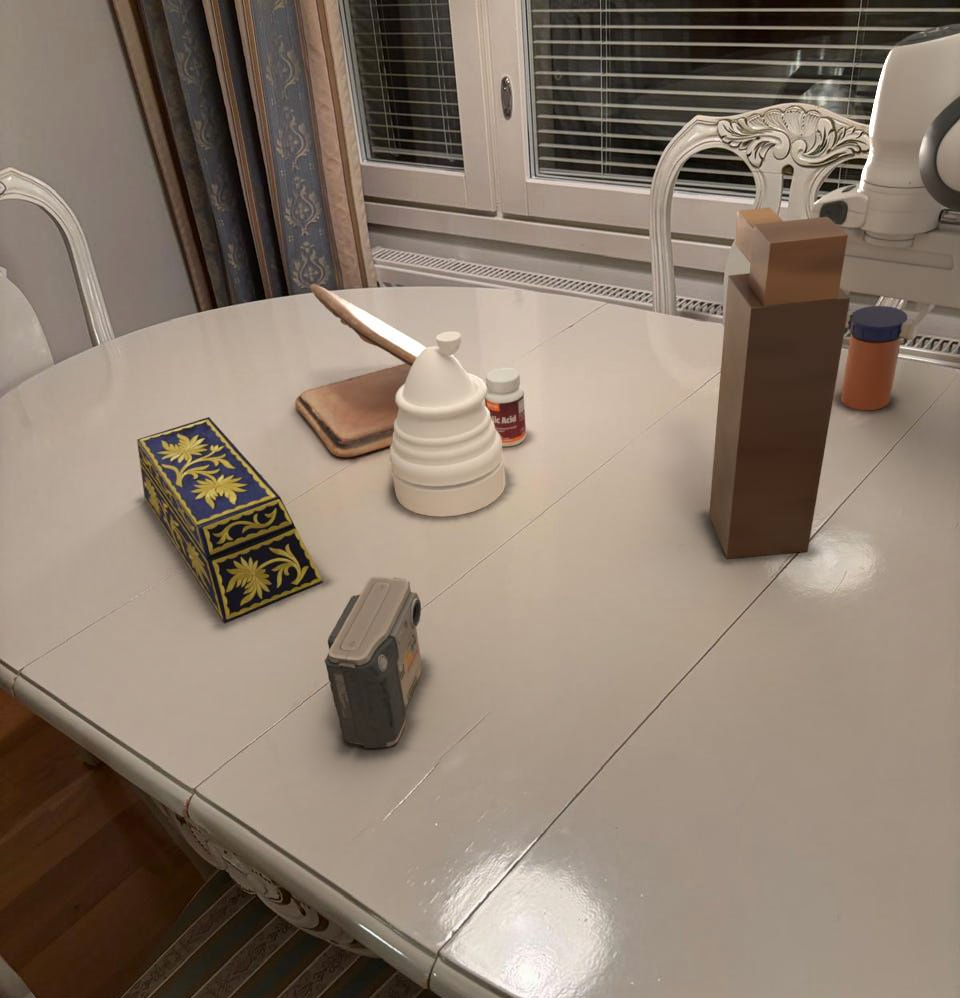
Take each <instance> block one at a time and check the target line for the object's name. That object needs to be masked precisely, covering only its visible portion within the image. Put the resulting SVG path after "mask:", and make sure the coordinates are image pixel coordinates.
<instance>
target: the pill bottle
mask: <svg viewBox="0 0 960 998" xmlns="http://www.w3.org/2000/svg"><path fill="white" fill-rule="evenodd" d="M485 384H486V387H487V394H486V396H485V398H484V405H485V406H486V407H487V409H488V410H489V411H490V417H491V419H492V421H493V422H494V425H495V429H496V430H497V432H498V433H499V434H500V437H501V440H502V447H513V446H516V445H519V444H521V443H522V442H523V441H525V439H526V437H527V426H526V411H525V409H526V408H525V391H524V389H523V387H522V386H521V377H520V372H519V371H518V370H517V369H516V368H511V367H499V368H494V369H491V370H490V371H488V372H487V373H486V375H485Z"/></svg>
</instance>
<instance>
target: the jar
mask: <svg viewBox="0 0 960 998" xmlns="http://www.w3.org/2000/svg"><path fill="white" fill-rule="evenodd" d="M849 336H850V337H849V343H848V349H847V355H846V363H845V370H844V376H843V382H842V389H841V395H840V401H841V403H842V404H843V405H844V406H846V407H848V408H850V409H853V410H859V411H875V410H880V409H882V408H885V407H886V406H888V405H889V403H890V401H891V396H892V391H893V385H894V379H895V375H896V369H897V364H898V358H899V354H900V347H901V342H902V338H899V337H898V338H896V339H893V340H889V341H867V340H863V339H859V338H857V337H855V336H853V335H852V334H851V333H850V335H849Z"/></svg>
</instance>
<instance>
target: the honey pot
mask: <svg viewBox="0 0 960 998" xmlns="http://www.w3.org/2000/svg"><path fill="white" fill-rule="evenodd" d="M435 339H436V343H437V345H432V346H428V347H426V349H425V350H423V351H422V352H421V353H420V354H419V355H418V357H417V358H416V360H415V361H414V363H413V365H412V367H411V369H410V371H409V374H408V376H407V379H406V382H405V384H404V385H403V386H401V387H400V388H399V390H398V391H397V393H396V398H395V402H396V404H397V406H398V407H399V410H398V415H397V418H396V419H395V421H394V432H393V443H392V444H391V446H389V461H390V467H391V474H392V480H393V486H394V492H395V497H396V499H397V501H398V503H399V504H400V505H401V506H402V507H404V508H405V509H406V510H408V511H411V512H412V513H415V514H417V515H423V516H428V517H441V518H442V517H443V518H444V517H445V518H446V517H453V516H454V517H455V516H461V515H465V514H469V513H473V512H476V511H479V510H480V509H483V508H485V507H487V506H489V505H490V504H492V503H493V502H495V501H497V499H498V498H499V497H500V496H501V495H502V494H503V493H504V490H505V487H506V485H507V483H506V471H505V461H504V460H505V459H504V450H503V446H502V440H501V437H500V434H499V433H498V432H497V430H496V429H495V425H494V422H493V421H492V419H491V417H490V411H489V410H488V409H487V407H486V405H485V402H484V401H485V396H486V394H487V389H488V388H487V386H486V382H484V380H483V379H482V378H480V377H479V376H477V375H475V374H472V373H469V372H467V371H466V369H465V368H464V367H463V366H462V364H461V363H460V361H459V360H458V359H457V358H456V357H455V356H454V355H455V354H456V353H457V352H458V351H459V349H460V346H461V343H462V334H461V332H458V331H453V330H452V331H444V332H443V331H442V332H441V333H439V334H437V335H436V337H435Z"/></svg>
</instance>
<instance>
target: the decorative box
mask: <svg viewBox="0 0 960 998" xmlns="http://www.w3.org/2000/svg"><path fill="white" fill-rule="evenodd" d="M136 444H137V451H138V459H139V466H140V474H141V482H142V489H143V496H144V500H145V501H146V503H147V505H148V506H149V508H150V510H151V511H152V512H153V514H154V516H155V517H156V519H157V520H158V522H159V524H160V525H161V527H162V528H163V529H164V531H165V532H166V534H167V536H168V537H169V539H170V541H171V542H172V544H173V545H174V546H175V548H176V550H177V551H178V553H179V555H180V556H181V558H182V559H183V561H184V562H185V564H186V565H187V567H188V569H189V570H190V572H191V573H192V575H193V576H194V578H195V580H196V581H197V583H198V585H199V586H200V587H201V589H202V590H203V592H204V594H205V595H206V597H207V598H208V600H209V601H210V603H211V604H212V606H213V607H214V609H215V610H216V612H217V614H218V616H219V617H220V619H221V620H222V622H223V623H225V624H226V623H228V622H230V621H232V620H234V619H237V618H239V617H242V616H244V615H247V614H249V613H252V612H254V611H256V610H259V609H261V608H264V607H266V606H268V605H271V604H273V603H276V602H278V601H280V600H283V599H286V598H288V597H291V596H293V595H295V594H298V593H300V592H302V591H304V590H305V591H306V590H307V589H309V588H312V587H314V586H316V585H319V584H322V583H323V582H324V580H323V578H322V576H321V575H320V573H319V570H318V569H317V567H316V565H315V562H314V561H313V559H312V556H311V555H310V553H309V551H308V549H307V547H306V545H305V543H304V540H303V539H302V537H301V535H300V532H299V531H298V529H297V527H296V525H295V523H294V521H293V519H292V517H291V516H290V513H289V511H288V509H287V507H286V505H285V503H284V501H283V499H282V497H281V496H280V495H279V494H278V493H277V491H276V490H275V489H274V488H273V487H272V486H271V484H269V482H268V481H267V480H266V479H265V478H264V477H263V476H262V474H261V473H259V471H258V470H257V469H256V468H255V466H253V464H252V463H251V462H250V461H249V460H248V459H247V458H246V457H245V455H243V454H242V452H241V450H240V449H238V448H237V447H236V445H235V444H234V443H233V441H231V440H230V439H229V437H228V436H226V434H225V433H224V432H223V431H222V430H221V428H219V427H218V425H217V424H216V423H215V422H214V421H213V420H212V419H211V417H210V416H209V417H207V416H206V417H205V418H200V419H198V420H195V421H192V422H189V423H185V424H182V425H179V426H176V427H173V428H169V429H166V430H163V431H159V432H156V433H154V434H149V435H147V436H144V437H140V438H137V439H136Z"/></svg>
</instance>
